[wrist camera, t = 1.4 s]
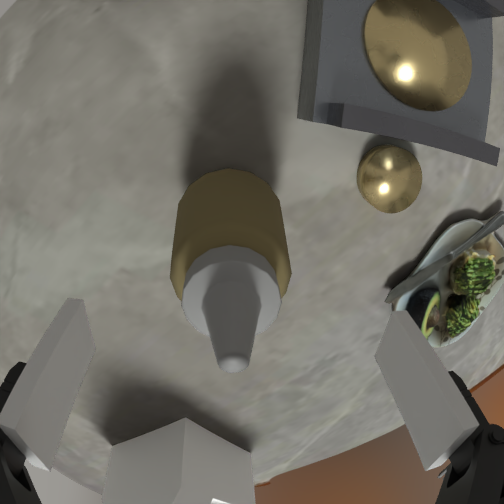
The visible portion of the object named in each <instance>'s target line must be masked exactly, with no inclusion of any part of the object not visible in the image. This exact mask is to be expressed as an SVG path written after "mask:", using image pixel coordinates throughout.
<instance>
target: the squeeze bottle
mask: <svg viewBox="0 0 504 504" xmlns="http://www.w3.org/2000/svg"><path fill="white" fill-rule="evenodd" d="M291 274H292V273H291V267H290V260H289V254H288V248H287V242H286V236H285V230H284V224H283V218H282V212H281V207H280V201H279V199H278V198H277V196H276V195H275V193H274V192H273V190H272V189H271V187H270V186H269V184H268V183H266V182H265V181H263V180H262V179H260V178H259V177H257V176H255V175H254V174H252V173H251V172H247V171H241V170H235V169H229V168H227V169H223V170H218V171H214V172H210V173H206V174H205V175H203V176H202V177H201V178H199V179H198V180H196V181H195V182H194V183H192V184H191V185H189V187H188V189H187V190H186V192H185V193H184V195H183V197H182V199H181V200H180V202H179V204H178V211H177V219H176V226H175V234H174V242H173V250H172V260H171V271H170V279H171V282H172V284H173V287H174V290H175V292H176V295H177V297H178V298H179V299H180V300H181V301H182V303H181V306H182V308H183V311H184V313H185V316H186V319H187V321H188V322H189V323H190V324H191V325H192V326H193V327H195V328H196V329H197V330H198V331H199V332H200V333H202V334H205V335H207V336H209V337H210V338H211V342H212V345H213V349H214V352H215V356H216V359H217V363H218V365H219V367H220V368H221V369H222V370H223V371H226V372H229V373H237V372H241V371H243V370H245V369H246V368H247V367H248V365H249V362H250V357H251V352H252V347H253V343H254V338H255V336H256V335H258V334H259V333H261V332H263V331H265V330H266V329H267V328H268V327H269V326H270V325H271V324H272V323H273V321H274V320H275V319H276V318H277V316H278V313H279V310H280V306H281V303H282V300H281V298H282V297H283V296H284V295H285V294H286V291H287V287H288V284H289V281H290V277H291Z"/></svg>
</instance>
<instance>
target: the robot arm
mask: <svg viewBox="0 0 504 504" xmlns="http://www.w3.org/2000/svg"><path fill="white" fill-rule="evenodd" d="M95 350H96V347H95V343H94V340H93V336H92V332H91V329H90V325H89V321H88V317H87V313H86V309H85V305H84V300H82V299H73V298H68V299H67V300H66V302H65V303H64V305H63V306H62V308H61V309H60V311H59V312H58V314H57V315H56V317H55V318H54V320H53V321H52V323H51V324H50V326H49V328H48V329H47V331H46V332H45V334H44V336H43V337H42V339H41V340H40V342H39V344H38V345H37V347H36V349H35V350H34V352H33V354H32V356H31V357H30V359H29V361H28V362H27V363H23V362H18V363H17V364H16V365H15V366H14V367H13V368H11V369H10V371H9V372H8V374H7V376H6V378H5V379H4V382H3V383H2V385H1V386H0V504H42V503H41V501H40V499H39V497H38V495H37V492H36V490H35V488H34V486H33V483H32V481H31V479H30V476H29V474H28V471H27V469H26V467H25V466H24V462H25V459H27V460H28V461H29V462H30V463H31V464H32V465H33V466H36V467H38V468H41V469H44V470H47V471H51V468H52V465H53V462H54V459H55V455H56V452H57V449H58V446H59V443H60V440H61V437H62V434H63V431H64V429H65V426H66V423H67V420H68V417H69V415H70V412H71V409H72V407H73V404H74V401H75V399H76V396H77V393H78V391H79V388H80V386H81V383H82V381H83V378H84V376H85V374H86V371H87V369H88V366H89V364H90V362H91V359H92V357H93V354H94V352H95ZM375 359H376V361H377V363H378V365H379V367H380V369H381V371H382V373H383V375H384V377H385V380H386V382H387V384H388V386H389V388H390V390H391V392H392V395H393V397H394V399H395V401H396V403H397V406H398V408H399V410H400V412H401V415H402V417H403V419H404V421H405V424H406V426H407V428H408V431H409V433H410V435H411V437H412V440H413V442H414V445H415V447H416V449H417V452H418V454H419V457H420V459H421V462H422V464H423V467H424V469H425V471H427V470H430V469H433V468H436V467H438V466H441V465H442V464H443V463H444V462H445V461H446V460H447V459H448V458H449V459H450V461H451V463H450V464H449V465H448V466H447V467H446V468H445V469H444V470H443V471H442V472H441V473H440V474H439V476H438V478H440V477H442V476H443V475H444V474H445V473H446V474H445V477H444V478H443V484H442V486H441V489H440V492H439V495H438V498H437V501H436V503H435V504H504V429H503V428H502V427H500V426H498V425H495V424H489V423H488V421H487V420H486V418H485V416H484V414H483V413H482V411H481V409H480V408H479V406H478V404H477V403H476V401H475V399H474V398H473V397H471V396H472V395H471V393H470V391H469V390H467V387H466V385H465V383H464V382H463V380H462V379H461V378H460V377H459V376H458V375H457V374H456V373H454V372H453V371H449V372H448V371H447V370H446V368H445V367H444V365H443V363H442V362H441V360H440V359H439V357H438V356H437V354H436V353H435V351H434V350H433V348H432V347H431V345H430V344H429V342H428V341H427V339H426V338H425V336H424V335H423V333H422V332H421V330H420V329H419V327H418V326H417V325H416V323H415V322H414V320H413V319H412V317H411V316H410V315H409V313H408V312H407V310H405V311H392V314H391V317H390V319H389V322H388V324H387V327H386V330H385V332H384V335H383V337H382V340H381V342H380V344H379V347H378V349H377V352H376V354H375Z"/></svg>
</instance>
